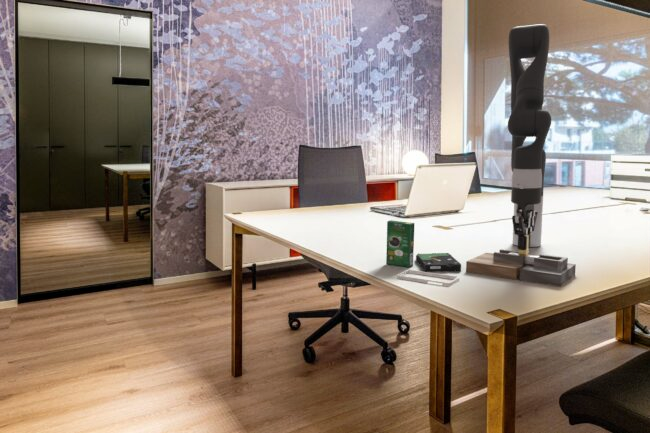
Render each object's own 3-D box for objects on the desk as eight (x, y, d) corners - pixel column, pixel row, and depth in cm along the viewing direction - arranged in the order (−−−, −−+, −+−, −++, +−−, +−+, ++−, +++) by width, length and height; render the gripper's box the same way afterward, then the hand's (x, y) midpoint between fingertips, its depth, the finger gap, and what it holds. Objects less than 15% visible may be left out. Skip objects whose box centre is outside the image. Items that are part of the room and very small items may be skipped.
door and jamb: (485, 262, 158) (486, 244, 158) (575, 275, 143) (576, 255, 142) (466, 271, 148) (466, 252, 147) (560, 286, 132) (561, 265, 131)
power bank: (459, 281, 140) (408, 274, 148) (459, 276, 140) (408, 269, 148) (449, 288, 134) (396, 279, 142) (449, 282, 134) (396, 275, 142)
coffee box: (414, 265, 155) (415, 222, 153) (410, 267, 153) (410, 223, 151) (390, 262, 160) (390, 219, 158) (385, 264, 158) (386, 221, 156)
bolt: (510, 259, 148) (511, 232, 147) (539, 263, 143) (540, 235, 142) (507, 260, 146) (508, 234, 145) (536, 265, 141) (538, 237, 140)
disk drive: (461, 273, 148) (448, 261, 163) (462, 264, 148) (448, 252, 163) (425, 274, 148) (415, 261, 163) (425, 264, 148) (415, 252, 162)
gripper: (521, 183, 149) (518, 243, 151) (503, 187, 138) (500, 251, 141) (549, 184, 144) (546, 246, 147) (532, 188, 133) (529, 255, 136)
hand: (523, 248), depth 144 cm, fingers closed on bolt, 2 cm apart
